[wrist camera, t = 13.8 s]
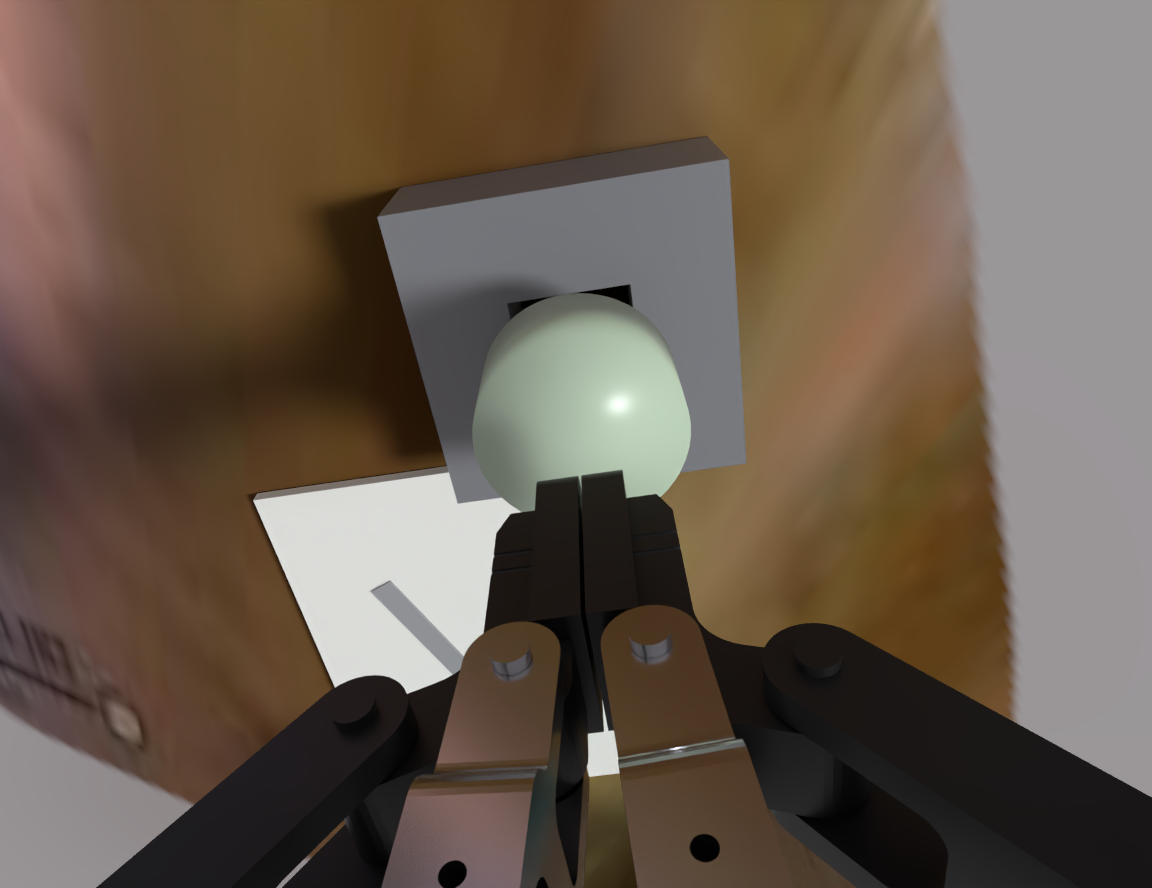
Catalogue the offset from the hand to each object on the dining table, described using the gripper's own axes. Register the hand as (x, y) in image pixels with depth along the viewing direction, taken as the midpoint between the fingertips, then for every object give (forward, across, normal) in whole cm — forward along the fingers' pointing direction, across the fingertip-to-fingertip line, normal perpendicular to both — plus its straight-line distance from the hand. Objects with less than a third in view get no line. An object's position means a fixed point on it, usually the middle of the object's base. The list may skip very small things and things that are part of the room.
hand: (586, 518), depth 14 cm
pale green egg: (+8, 0, 0) cm, 8 cm away
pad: (+10, +6, +12) cm, 17 cm away
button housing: (+10, 0, 0) cm, 10 cm away
